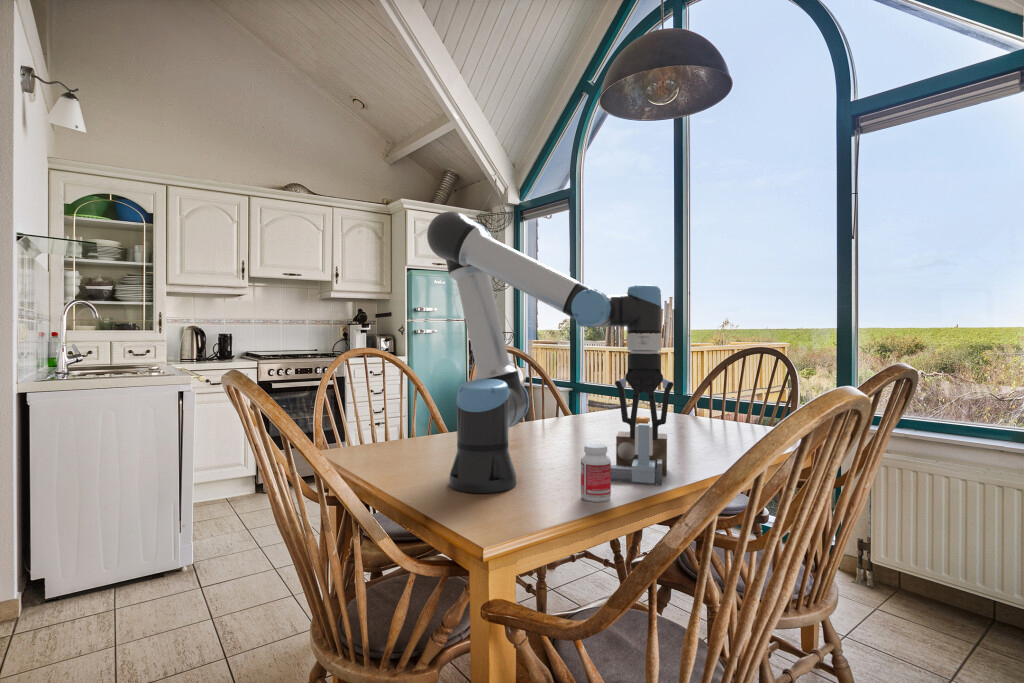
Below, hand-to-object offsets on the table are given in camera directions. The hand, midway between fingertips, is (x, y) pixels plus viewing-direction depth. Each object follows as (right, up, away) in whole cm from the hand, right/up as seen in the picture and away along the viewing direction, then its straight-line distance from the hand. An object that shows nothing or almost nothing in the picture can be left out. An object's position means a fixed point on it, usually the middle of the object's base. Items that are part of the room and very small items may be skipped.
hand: (643, 453), depth 125 cm
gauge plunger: (+2, 0, +10) cm, 10 cm away
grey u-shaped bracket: (-4, -7, +1) cm, 8 cm away
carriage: (0, -7, 0) cm, 7 cm away
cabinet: (+2, -6, +10) cm, 12 cm away
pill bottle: (-13, -7, -13) cm, 20 cm away
